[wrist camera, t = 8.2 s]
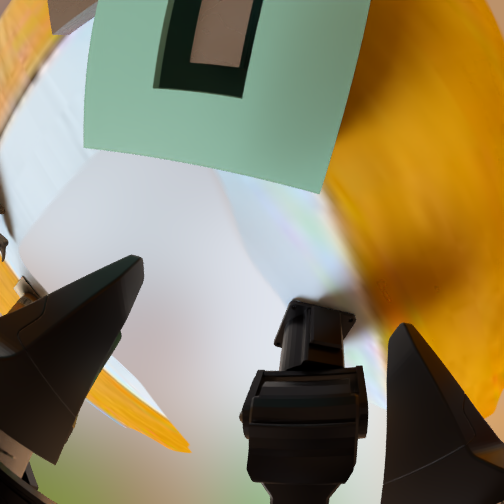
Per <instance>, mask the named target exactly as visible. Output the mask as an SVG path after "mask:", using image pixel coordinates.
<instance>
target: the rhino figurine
mask: <svg viewBox="0 0 504 504" xmlns="http://www.w3.org/2000/svg"><path fill="white" fill-rule="evenodd" d="M0 214H5V210H4V207H3V206H2V205H1V204H0ZM7 245H8V240H7V239H6V238H5V237H4V236H3V235H2V234H0V251H1V253H2V262H3V261H4V259H5V253H6V246H7Z"/></svg>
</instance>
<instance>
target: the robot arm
mask: <svg viewBox="0 0 504 504" xmlns="http://www.w3.org/2000/svg"><path fill="white" fill-rule="evenodd" d="M143 281H144V267H143V259H142V258H141V257H139V256H135V255H129V256H127V257H125V258H122V259H120V260H118V261H116V262H114V263H112V264H110V265H107V266H105V267H103V268H101V269H99V270H97V271H95V272H93V273H91V274H89V275H86V276H85V277H83V278H80V279H78V280H76V281H74V282H72V283H70V284H68V285H66V286H64V287H62V288H60V289H58V290H56V291H54V292H52V293H50V294H49V295H48V296H47V295H46V296H44V297H42V298H40V299H39V300H37V301H35V302H32V303H30V304H28V305H26V306H24V307H22V308H20V309H18V310H15V311H13V312H11V313H8V314H6V315H4V316H1V317H0V504H57V503H55V502H54V501H52V500H50V499H49V498H47V497H46V496H44V495H43V494H41V493H40V492H38V491H37V490H38V485H37V483H36V480H35V477H34V475H33V471H32V469H31V466H30V462H29V460H30V458H31V455H32V453H35V454H37V455H38V456H40V457H42V458H44V459H45V460H47V461H49V462H50V463H52V464H54V465H56V463H57V461H58V459H59V456H60V454H61V451H62V449H63V447H64V444H65V442H66V440H67V437H68V435H69V433H70V430H71V428H72V426H73V424H74V421H75V419H76V417H77V415H78V412H79V410H80V408H81V406H82V404H83V402H84V400H85V398H86V396H87V394H88V391H89V389H90V387H91V385H92V383H93V381H94V379H95V377H96V375H97V374H98V372H99V370H100V368H101V366H102V364H103V362H104V360H105V358H106V356H107V354H108V352H109V351H110V349H111V347H112V345H113V343H114V341H115V340H116V338H117V336H118V334H119V332H120V330H121V329H122V327H123V325H124V323H125V321H126V320H127V318H128V315H129V313H130V311H131V308H132V306H133V304H134V302H135V299H136V297H137V295H138V293H139V290H140V288H141V286H142V284H143ZM293 306H296V307H293ZM355 321H356V317H355V315H354V314H351V313H346V312H342V311H337V310H333V309H328V308H324V307H320V306H315V305H311V304H307V303H303V302H298V301H291V302H290V303H289V305H288V308H287V310H286V313H285V315H284V318H283V320H282V323H281V325H280V328H279V330H278V333H277V335H276V337H275V340H274V345H275V346H277V347H281V348H282V351H281V359H280V367H279V371H265V370H258V371H257V374H256V376H255V378H254V380H253V382H252V385H251V387H250V390H249V392H248V395H247V397H246V400H245V403H244V405H243V408H242V411H241V413H240V416H239V418H240V421H241V422H242V423H243V432H244V435H245V437H246V438H247V439H249V452H248V461H247V471H248V474H249V476H250V478H251V480H252V481H253V482H260V483H261V484H262V485H263V486H264V488H265V490H266V491H267V492H268V494H269V495H270V504H329V498H330V497H331V495H332V494H333V493H334V492H335V491H336V489H337V488H338V487H339V486H340V484H345V483H346V481H347V480H348V478H349V477H350V475H351V474H352V472H353V469H354V466H355V464H356V457H357V441H358V439H360V438H365V437H366V434H367V427H368V400H367V392H366V385H365V379H364V373H363V366H356V367H351V368H345V366H344V346H343V340H344V338H345V337H346V335H347V334H348V332H349V331H350V329H351V328H352V326H353V325H354V323H355ZM383 484H384V485H383V488H382V498H381V504H504V443H503V442H502V441H501V440H500V439H499V438H498V437H497V435H496V434H495V433H494V431H493V430H492V429H491V428H490V426H489V425H488V424H487V422H486V421H485V420H484V418H483V417H482V416H481V414H480V413H479V412H478V411H477V409H476V408H475V406H474V405H473V404H472V402H471V401H470V399H469V398H468V397H467V395H466V394H464V391H463V390H462V388H461V387H460V385H459V384H458V383H457V381H456V380H455V379H454V377H453V376H452V375H451V373H450V372H449V370H448V369H447V368H446V367H445V365H444V364H443V363H442V361H441V360H440V359H439V357H438V356H437V355H436V353H435V352H434V351H433V350H432V348H431V347H430V346H429V345H428V343H427V342H426V341H425V340H424V338H423V337H422V336H421V335H420V333H419V332H418V331H417V330H416V328H415V327H414V326H413V325H412V324H409V323H404V322H403V323H401V324H400V325H399V326H398V327H397V329H396V330H395V331H394V333H393V334H392V335H391V337H390V339H389V343H388V364H387V435H386V457H385V469H384V480H383Z"/></svg>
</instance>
